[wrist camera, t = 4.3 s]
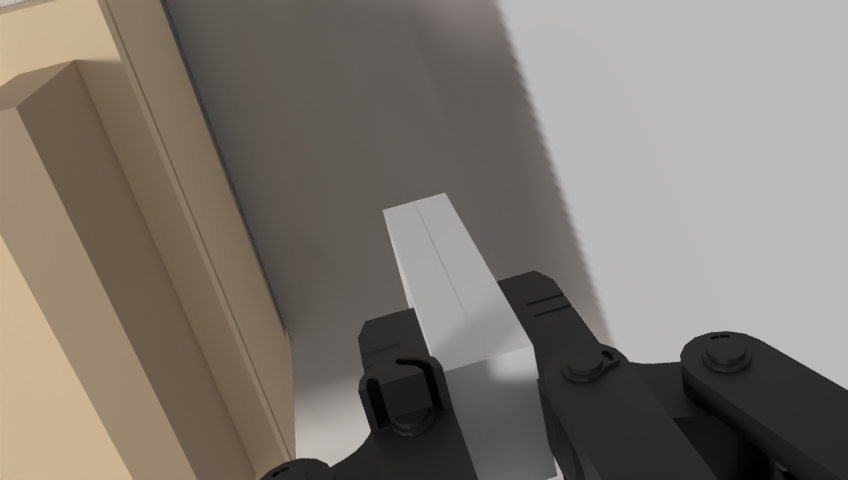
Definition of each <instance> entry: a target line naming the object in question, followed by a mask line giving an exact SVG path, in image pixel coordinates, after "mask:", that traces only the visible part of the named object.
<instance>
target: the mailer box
mask: <svg viewBox="0 0 848 480" xmlns="http://www.w3.org/2000/svg"><path fill="white" fill-rule="evenodd" d="M46 1H50V0H28V1H24V2H21V3H17V4H13V5H9V6H5V7H1V8H0V13H3V12H7V11H11V10H15V9H19V8H23V7H27V6H31V5H34V4H38V3H42V2H46ZM105 3H106V5H107V8H108V10H109V13H110V15H111V18H112V20H113V23H114V25H115V28H116V30H117V33H118V35H119V38H120V40H121V42H122V45H123V47H124V50H125V52H126V55H127V57H128V60H129V62H130V65H131V67H132V70H133V72H134V75H135V77H136V80H137V82H138V85H139V87H140V89H141V92H142V94H143V97H144V99H145V102H146V104H147V107H148V109H149V112H150V114H151V117H152V119H153V122H154V124H155V127H156V129H157V132H158V134H159V136H160V139H161V141H162V144H163V146H164V149H165V151H166V154H167V156H168V159H169V161H170V164H171V166H172V169H173V171H174V174H175V176H176V179H177V181H178V183H179V186H180V188H181V191H182V193H183V196H184V198H185V201H186V203H187V206H188V208H189V211H190V213H191V216H192V218H193V221H194V223H195V225H196V228H197V230H198V233H199V235H200V238H201V240H202V243H203V245H204V248H205V250H206V253H207V255H208V258H209V260H210V263H211V265H212V268H213V270H214V272H215V275H216V277H217V280H218V282H219V285H220V287H221V290H222V292H223V295H224V297H225V300H226V302H227V305H228V307H229V310H230V312H231V315H232V317H233V319H234V322H235V324H236V327H237V329H238V332H239V334H240V337H241V339H242V342H243V344H244V347H245V349H246V352H247V354H248V357H249V359H250V362H251V364H252V366H253V369H254V371H255V374H256V376H257V379H258V381H259V384H260V386H261V389H262V391H263V394H264V396H265V399H266V401H267V404H268V406H269V409H270V411H271V413H272V416H273V418H274V421H275V423H276V426H277V428H278V431H279V433H280V436H281V438H282V441H283V443H284V446H285V448H286V451H287V453H288V455H289V458H290V460H291V461H292V460H296V451H295V423H294V395H293V367H292V344H291V341H290V339H289V336H288V333H287V331H286V328H285V325H284V322H283V320H282V317H281V314H280V312H279V309H278V306H277V303H276V301H275V298H274V295H273V293H272V290H271V287H270V284H269V282H268V279H267V276H266V274H265V271H264V268H263V265H262V263H261V260H260V257H259V255H258V252H257V249H256V246H255V244H254V241H253V238H252V236H251V233H250V230H249V227H248V225H247V222H246V219H245V217H244V214H243V211H242V208H241V206H240V203H239V200H238V198H237V195H236V192H235V190H234V187H233V184H232V181H231V179H230V176H229V173H228V171H227V168H226V165H225V162H224V160H223V157H222V154H221V152H220V149H219V146H218V143H217V141H216V138H215V135H214V133H213V130H212V127H211V124H210V122H209V119H208V116H207V114H206V111H205V108H204V105H203V103H202V100H201V97H200V95H199V92H198V89H197V86H196V84H195V81H194V78H193V76H192V73H191V70H190V67H189V65H188V62H187V59H186V57H185V54H184V51H183V48H182V46H181V43H180V40H179V38H178V35H177V32H176V29H175V27H174V24H173V21H172V19H171V16H170V13H169V10H168V8H167V5H166V2H165V0H105Z"/></svg>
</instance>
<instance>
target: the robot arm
mask: <svg viewBox="0 0 848 480" xmlns="http://www.w3.org/2000/svg"><path fill="white" fill-rule="evenodd" d="M383 213H384V217H385V220H386V224H387V228H388V232H389V235H390V239H391V243H392V246H393V250H394V254H395V257H396V261H397V265H398V269H399V272H400V276H401V280H402V283H403V287H404V291H405V294H406V298H407V302H408V305H409V309H407V310H403V311H400V312H396V313H393V314H389V315H386V316H382V317H379V318H376V319H372V320H369V321H365V324H364V326H363V328H362V330H361V333H360V335H359V337H358V341H359V347H360V352H361V356H362V363H363V368H364V373H365V374H364V375H363V377H362V378H361V380H360V382H359V390H358V392H359V395H360V398H361V401H362V404H363V407H364V410H365V413H366V416H367V419H368V423H369V426H370V429H371V432H370V434H369V436H368V438H367V439H366V441H365V442H364V443H363V444H362V445H361V446H360V447H359V448H358V449H357V450H356V451H355V452H354V453H353V454H351V455H350V456H348V457H347V458H345V459H344V460H342V461H340V462H339V463H337V464H335V465H333V466H332V467H329V466H328V464H327V463H324V462H322V461H320V460H317V459H310V458H299V459H296V460H292V461H288V462H285V463H282V464H281V465H279V466H277V467H275V468H273V469H272V470H270V471H268V472H267V473H266V474H265V475H264V476H263V477H262V478H261V479H260V480H546V479H549V478H552V477H555V476H557V472H556V466H555V461H554V457H555V459H556V461H557V463H558V465H559V467H560V469H561V471H562V473H563V477H564V480H848V390H846V389H845V388H843V387H841V386H839V385H838V384H836V383H834V382H832V381H831V380H829V379H827V378H826V377H824V376H822V375H820V374H819V373H817V372H815V371H813V370H812V369H810V368H808V367H806V366H805V365H803V364H801V363H799V362H797V361H796V360H794V359H792V358H791V357H789V356H787V355H785V354H783V353H782V352H780V351H779V350H777V349H775V348H773V347H772V346H770V345H768V344H766V343H765V342H763V341H761V340H759V339H757V338H754V337H751V336H749V335H747V334H743V333H736V332H729V331H724V332H711V333H707V334H704V335H701V336H698V337H695V338H694V339H693V340H691V341H690V342H688V343H687V344H686V345H685V346H684V348H683V350H682V352H681V355H680V358H681V362H671V363H657V364H640V363H634V362H629V361H628V359H627V358H626V357H625V356H624V355H623V354H622V353H620V352H619V351H618V350H617V349H616V348H613V347H610V346H607V345H604V344H600V343H599V342H598V340H597V339H596V338H595V336H594V335H593V334H592V332H591V331H590V329H589V328H588V327H587V325H586V324H585V323H584V321H583V320H582V318H581V317H580V316H579V314H578V313H577V312H576V310H575V309H574V307H572V306H571V303H570V302H569V301H568V299H567V298H566V296H564V295H563V292H562V291H561V290H560V288H559V287H558V285H557V284H556V283H555V281H554V280H553V279H551V278H549V277H547V276H545V275H543V274H541V273H539V272H537V271H532V272H528V273H525V274H521V275H518V276H514V277H511V278H507V279H504V280H501V281H497V282H496V280H495V279H494V277H493V275H492V273H491V272H490V270H489V268H488V266H487V265H486V263H485V261H484V259H483V258H482V256H481V254H480V253H479V251H478V249H477V247H476V246H475V244H474V242H473V240H472V239H471V237H470V235H469V233H468V232H467V230H466V228H465V226H464V225H463V223H462V221H461V219H460V218H459V216H458V214H457V213H456V211H455V209H454V207H453V206H452V204H451V202H450V200H449V199H448V197H447V195H446V193H442V194H438V195H435V196H431V197H427V198H424V199H420V200H417V201H413V202H410V203H406V204H402V205H399V206H395V207H392V208H388V209H384V210H383ZM553 455H554V456H553Z"/></svg>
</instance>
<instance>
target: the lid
mask: <svg viewBox="0 0 848 480" xmlns="http://www.w3.org/2000/svg"><path fill="white" fill-rule="evenodd" d="M288 461H291V460H290V458H289V455H288V453H287V451H286V448H285V446H284V443H283V441H282V438H281V436H280V433H279V431H278V428H277V426H276V423H275V421H274V418H273V416H272V413H271V411H270V409H269V406H268V404H267V401H266V399H265V396H264V394H263V391H262V389H261V386H260V384H259V381H258V379H257V376H256V374H255V371H254V369H253V366H252V364H251V362H250V359H249V357H248V354H247V352H246V349H245V347H244V344H243V342H242V339H241V337H240V334H239V332H238V329H237V327H236V324H235V322H234V319H233V317H232V315H231V312H230V310H229V307H228V305H227V302H226V300H225V297H224V295H223V292H222V290H221V287H220V285H219V282H218V280H217V277H216V275H215V272H214V270H213V268H212V265H211V263H210V260H209V258H208V255H207V253H206V250H205V248H204V245H203V243H202V240H201V238H200V235H199V233H198V230H197V228H196V225H195V223H194V221H193V218H192V216H191V213H190V211H189V208H188V206H187V203H186V201H185V198H184V196H183V193H182V191H181V188H180V186H179V183H178V181H177V179H176V176H175V174H174V171H173V169H172V166H171V164H170V161H169V159H168V156H167V154H166V151H165V149H164V146H163V144H162V141H161V139H160V136H159V134H158V132H157V129H156V127H155V124H154V122H153V119H152V117H151V114H150V112H149V109H148V107H147V104H146V102H145V99H144V97H143V94H142V92H141V89H140V87H139V85H138V82H137V80H136V77H135V75H134V72H133V70H132V67H131V65H130V62H129V60H128V57H127V55H126V52H125V50H124V47H123V45H122V42H121V40H120V38H119V35H118V33H117V30H116V28H115V25H114V23H113V20H112V18H111V15H110V13H109V10H108V8H107V5H106V3H105V0H50V1H46V2H42V3H38V4H34V5H31V6H27V7H23V8H19V9H15V10H11V11H7V12H3V13H0V480H260V479H261V478H262V477H263V476H264V475H265V474H266V473H267V472H268V471H270V470H272V469H273V468H275V467H277V466H279V465H281V464H282V463H285V462H288Z"/></svg>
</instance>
